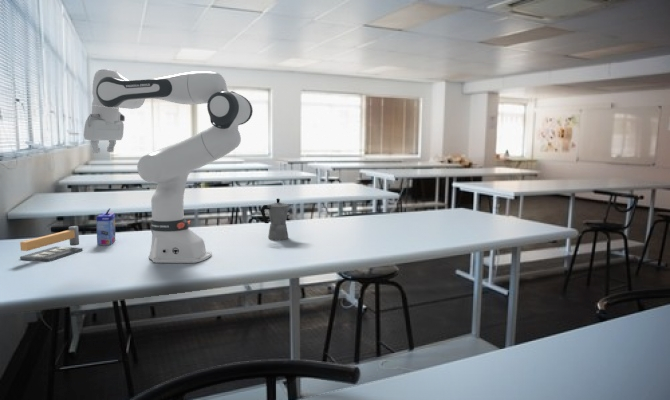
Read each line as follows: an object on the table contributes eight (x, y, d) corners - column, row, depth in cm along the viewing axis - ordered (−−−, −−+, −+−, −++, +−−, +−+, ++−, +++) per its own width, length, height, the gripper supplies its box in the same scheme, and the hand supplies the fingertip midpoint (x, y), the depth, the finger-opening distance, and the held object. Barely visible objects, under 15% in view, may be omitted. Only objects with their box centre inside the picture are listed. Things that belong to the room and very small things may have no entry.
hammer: (81, 243, 178) (79, 226, 177) (28, 259, 154) (26, 239, 153) (74, 243, 179) (72, 225, 178) (20, 259, 155) (19, 238, 154)
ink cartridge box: (111, 245, 183) (109, 210, 181) (96, 245, 181) (94, 210, 179) (116, 240, 192) (114, 206, 190) (102, 240, 191) (100, 207, 189)
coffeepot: (284, 234, 208) (284, 196, 205) (296, 238, 200) (296, 198, 198) (255, 238, 198) (255, 198, 195) (266, 242, 191) (266, 201, 188)
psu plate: (82, 250, 173) (82, 247, 173) (49, 261, 157) (48, 257, 157) (55, 248, 175) (55, 245, 175) (20, 259, 159) (19, 255, 159)
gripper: (97, 114, 153) (95, 154, 155) (127, 117, 173) (125, 152, 175) (79, 112, 153) (77, 152, 155) (111, 115, 173) (109, 150, 175)
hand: (103, 152), depth 165 cm, fingers open, 8 cm apart
